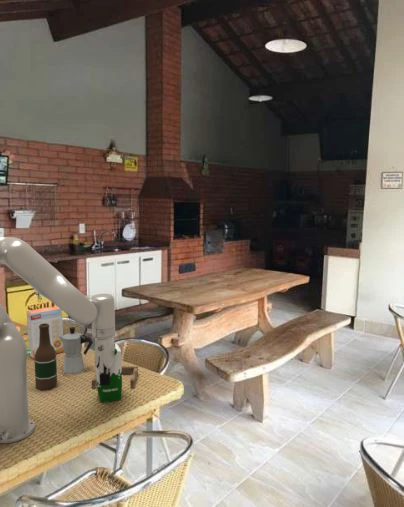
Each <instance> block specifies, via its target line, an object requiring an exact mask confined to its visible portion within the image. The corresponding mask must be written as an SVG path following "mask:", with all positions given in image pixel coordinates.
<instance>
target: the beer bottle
mask: <svg viewBox="0 0 404 507" xmlns="http://www.w3.org/2000/svg"><path fill="white" fill-rule="evenodd" d="M39 329H40V338H39V347H38V349H37V351H36V353H35V359H34V376H35V377H34V378H35V389H36V390H38V391H40V392H43V391H50V390H53V389H55V388H56V387H57V384H58V367H57V354H56V351H55V349H54V347H53V346H52V345H51V342H50V335H49V324H40V325H39Z"/></svg>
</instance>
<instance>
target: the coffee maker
mask: <svg viewBox="0 0 404 507" xmlns="http://www.w3.org/2000/svg"><path fill="white" fill-rule="evenodd" d="M58 337H59V338H60V339H61V341H62V343H63V349H64V352H63V353H64V358H63V364H62V365H63V366H62V372H63V373H64V374H67V375H76V374H80V373H82V372H83V371H85V364H84V360H83V358H84V357H83V354H84V355H87V353H88V352H89V350H90V348H91V347H92V345H93V343H94V342H93V340H92V338H91V337H90V336H87V335H86V334H83V333H80V332H76V327H74V326H71V327H69V332H68V333H65V334H63V336H58ZM85 343H88V344H87V346H86V348H85V350H84V352H83V354H82V351H83V350H82V349H83V344H85Z"/></svg>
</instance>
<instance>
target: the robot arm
mask: <svg viewBox="0 0 404 507" xmlns="http://www.w3.org/2000/svg"><path fill="white" fill-rule="evenodd" d="M0 265H5V266H6V267H8V268H9V269H10V270H11V271H12V272H13V273H14V274H16V275H17V276H18V277H20V278H21V279H22V280H23V281H24V282H26V283H27V285H29V286H30V287H31V288H33V289H34V290H35V291H36V292H37V293H38V294H40V295H41V296H42V297H44V298H45V299H47V300H48V301H50V302H52V304H54V305H55V306H58V307H59V308H60V309H61V310H62V312H63V313H65V314H66V315H67V316H68V317H70V318H71V319H72V320H73V321H74V322H75V323H76V324H78V325H81V326H88V325H90V324H91V337H92V338H93V339H94V366H95V369H96V368H98V367H99V373H100V385H109V384H110V367H111V366H112V364H113V362H114V360H115V347H114V344H115V336H116V318H115V317H116V314H115V313H116V311H115V310H116V309H115V297H114V296H113V294H110V293H98V294H94V295H85V294H84V293H83V292H81V291H80V290H79V289H78V288H76V287H75V286H74V285H73V284H72V283H71V282H70V281H69V280H68V279H67V278H66V277H65V276H64V275H63V273H61V272H60V271H59V270H58V269H57V268H56V267H55V266H53V265H52V264H51V263H50V262H49V261H47V259H45V258H44V257H43V256H42V255H41V254H40V253H38V251H37V250H35V249H34V248H33V247H32V246H31V245H30V244H28V243H27V242H26V241H24V240H23V239H21V238H18V237H14V236H0ZM23 336H24V335H23V334H21V332H20V331H19V328H17V326H16V325H15V323H14V322H13V321H12V319H11V317H10V315H9V314H8V313H7V311H6V309H5V307H4V306H3V305H2V303H1V302H0V444H9V443H14V442H18V441H21V440H23V439H26V438H27V437H29V436H30V435H31V434H32V433H33V432H34V431H35V426H36V424H35V422H34V420H32V419H30V418H29V417H30V416H29V413H30V412H29V396H28V394H29V393H28V392H29V391H28V378H27V374H28V373H27V358H28V351H27V350H28V349H27V348H28V347H27V343H26V340H25V338H24V337H23Z"/></svg>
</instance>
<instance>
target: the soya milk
mask: <svg viewBox="0 0 404 507" xmlns="http://www.w3.org/2000/svg"><path fill="white" fill-rule="evenodd" d="M114 347H115V360H114V362H113V364H112V366H111V367H110V384H109V385H100V373H99V367H98V368H96V367H95V374H96V385H97V386H96V389H97V394H98V398H99V402H100V403H108V402H113V401H121V400H122V391H123V375H122V367H123V365H122V363H123V362H122V350H121V348H120V346H119V345H118V344H117V343H114Z"/></svg>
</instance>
